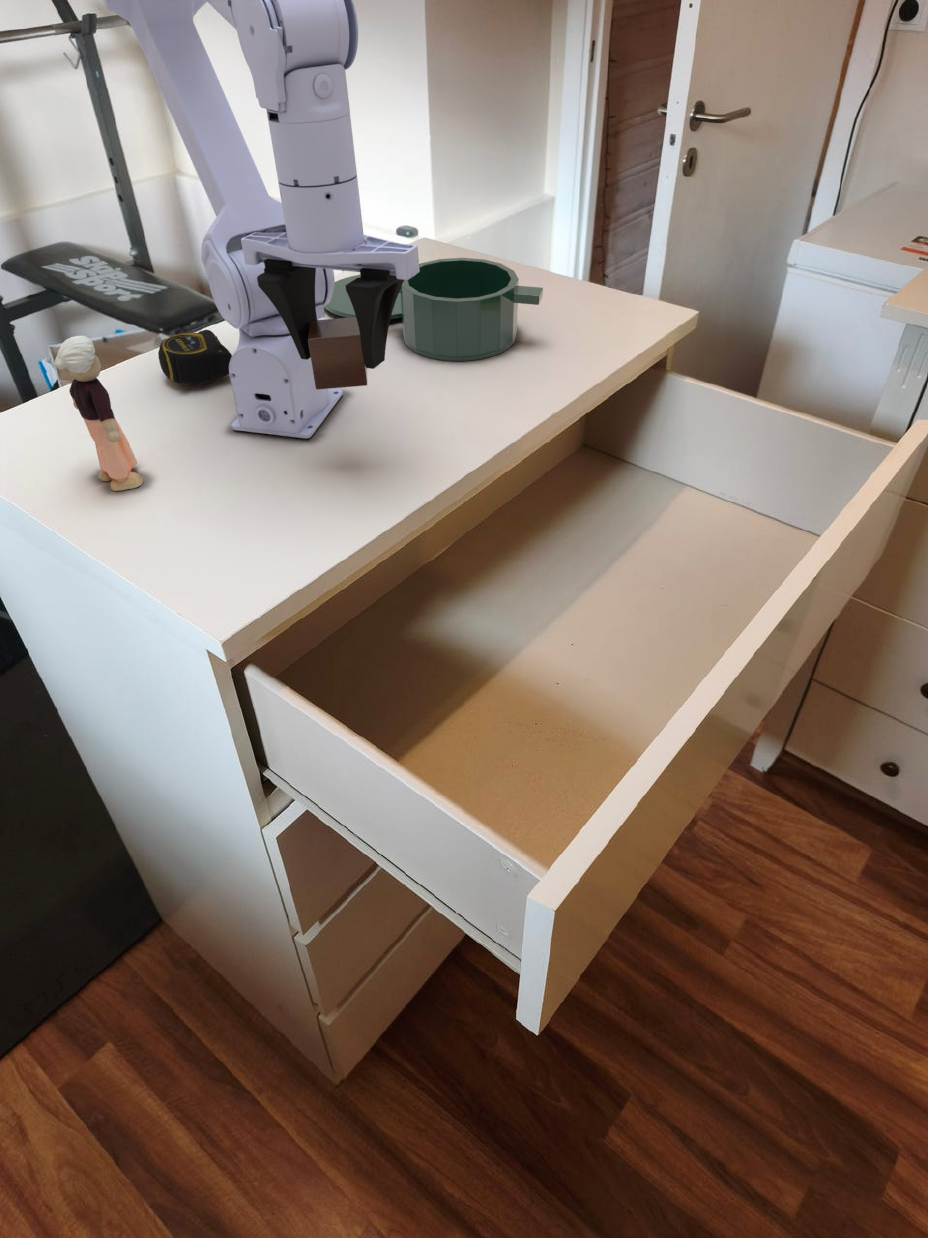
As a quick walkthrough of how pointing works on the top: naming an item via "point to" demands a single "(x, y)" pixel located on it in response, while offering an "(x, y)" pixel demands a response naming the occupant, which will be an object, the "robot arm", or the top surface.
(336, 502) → the top surface
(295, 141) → the robot arm
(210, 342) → the tape measure
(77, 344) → the grandmother figurine
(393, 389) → the top surface
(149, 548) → the top surface
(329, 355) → the block
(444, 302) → the pot
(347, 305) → the pot lid
